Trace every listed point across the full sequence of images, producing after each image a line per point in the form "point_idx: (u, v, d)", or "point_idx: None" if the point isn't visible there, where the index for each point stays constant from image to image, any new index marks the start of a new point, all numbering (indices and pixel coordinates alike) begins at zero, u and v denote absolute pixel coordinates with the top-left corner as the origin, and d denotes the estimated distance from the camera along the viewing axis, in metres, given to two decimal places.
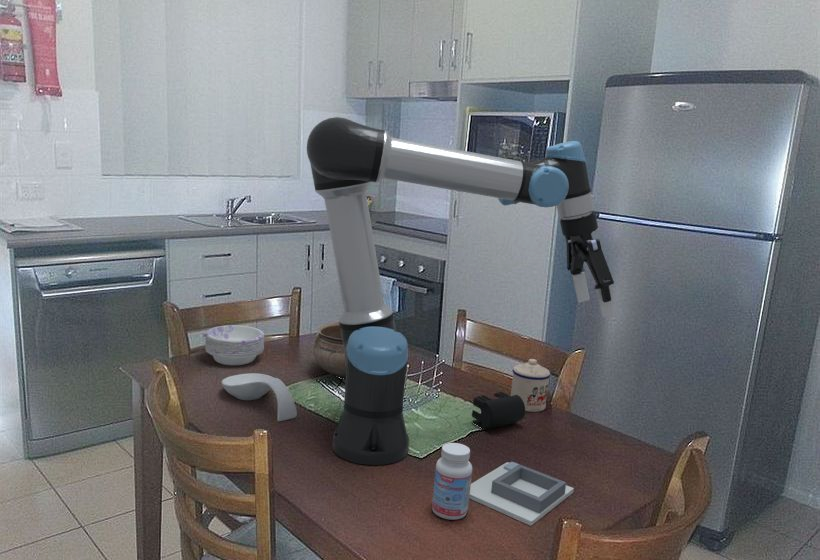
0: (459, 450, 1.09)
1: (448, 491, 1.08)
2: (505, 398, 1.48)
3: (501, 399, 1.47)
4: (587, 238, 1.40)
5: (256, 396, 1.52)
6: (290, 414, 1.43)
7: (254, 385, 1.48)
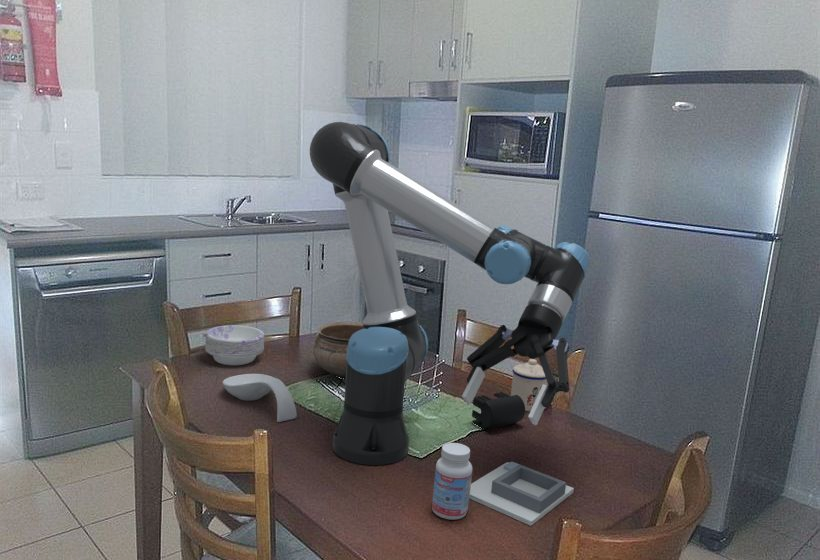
0: (459, 450, 1.09)
1: (448, 491, 1.08)
2: (505, 398, 1.48)
3: (501, 399, 1.47)
4: (552, 338, 1.22)
5: (257, 396, 1.52)
6: (289, 415, 1.43)
7: (254, 385, 1.47)
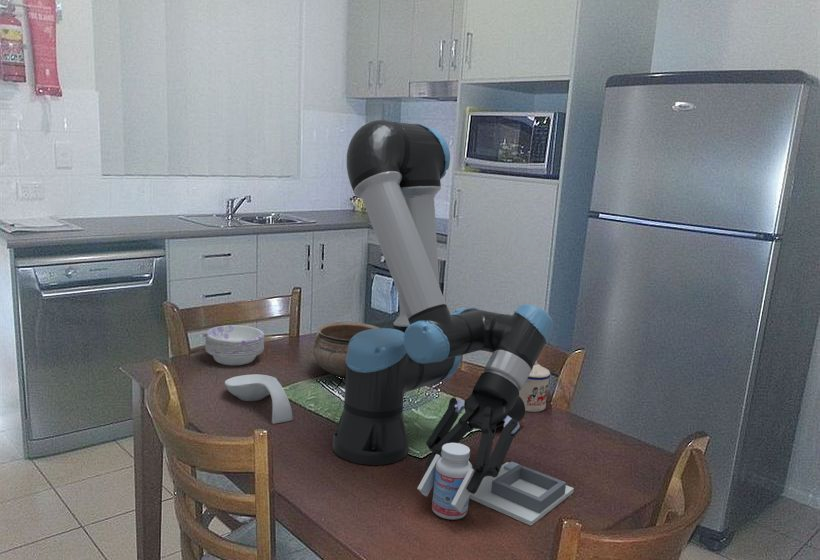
0: (459, 449, 1.09)
1: (448, 491, 1.07)
2: None
3: None
4: (508, 413, 1.13)
5: (257, 397, 1.51)
6: (285, 417, 1.42)
7: (253, 386, 1.47)
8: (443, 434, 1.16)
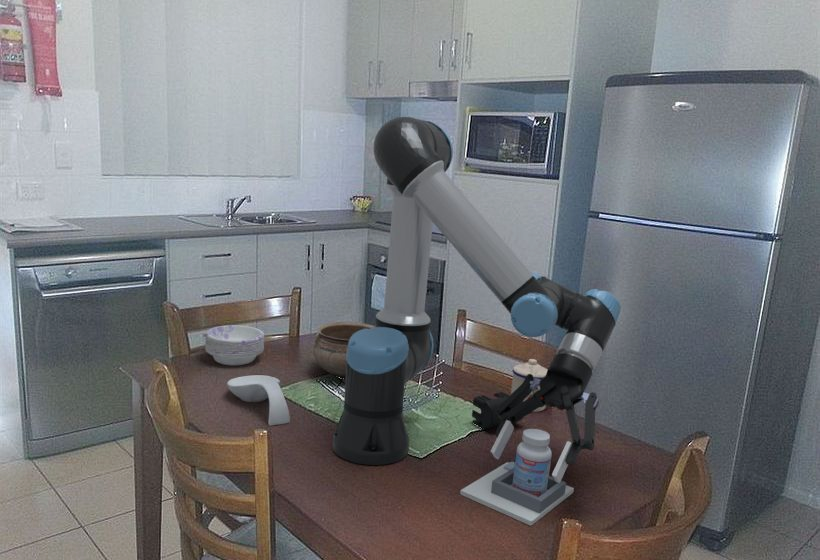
0: (539, 435, 1.15)
1: (530, 474, 1.14)
2: (505, 398, 1.48)
3: (501, 399, 1.47)
4: (583, 390, 1.19)
5: (258, 398, 1.51)
6: (282, 419, 1.40)
7: (253, 387, 1.46)
8: (513, 405, 1.23)
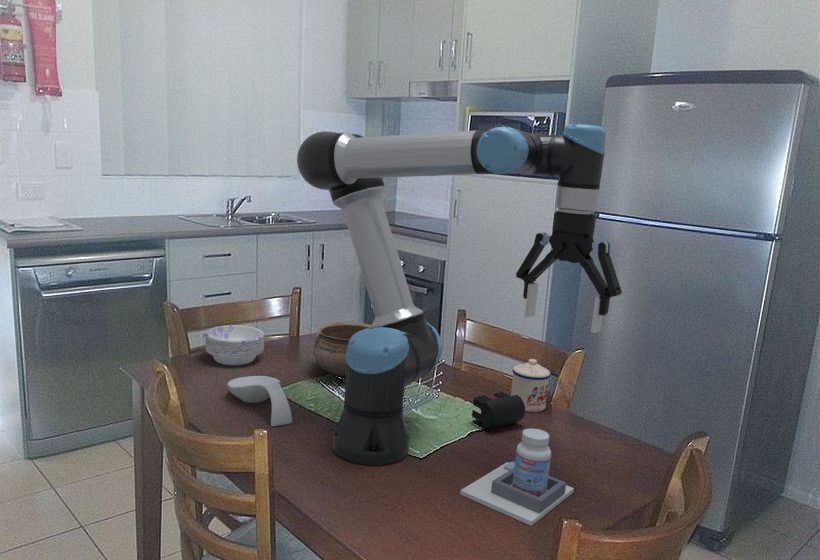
0: (539, 434, 1.15)
1: (530, 473, 1.14)
2: (505, 398, 1.48)
3: (501, 399, 1.47)
4: (591, 239, 1.21)
5: (259, 399, 1.50)
6: (284, 420, 1.40)
7: (254, 388, 1.46)
8: (531, 264, 1.29)
